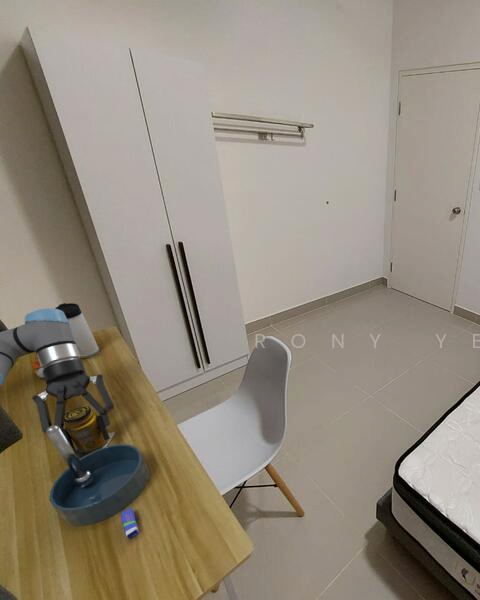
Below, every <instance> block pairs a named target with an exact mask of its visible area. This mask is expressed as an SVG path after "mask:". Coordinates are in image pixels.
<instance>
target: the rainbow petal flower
mask: <svg viewBox="0 0 480 600" xmlns="http://www.w3.org/2000/svg"><path fill="white" fill-rule="evenodd" d="M30 365H31V367H33V368H34V369H33V372H34V374H36V376H37V377H39V378H42V379H45V378H44V375H43V372H42V371H43V368H41V366H40V363H39V360H38V359H37V360H34V361H33V362H31V364H30Z"/></svg>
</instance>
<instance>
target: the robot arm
mask: <svg viewBox="0 0 480 600" xmlns="http://www.w3.org/2000/svg"><path fill="white" fill-rule="evenodd" d="M33 353H36V357H37V360H39V363H40V366H41V368H43V371H42V372H43V375H44V378H43V379H44V381H45V384H46V387H45V390H44V391H43V392H41V393H39V394H34V395H33V396H32V397H31V400H32V402H34V403H35V404H36V407H37V412H38V415H39V416H38V417H39V421H40V426H41V429H42V432H43V433H44V434H46V430H47V428H48V427H50V426H53V423H52V419H51V414H50V410H49V406H48V403H47V401H48V399H49V398H48V397H49V395H50V396H52V397H54V398H56V401H55V402H56V407H55V414H54V415H55V416H54V425H56V426H59V428H60V429H61V431H62V433H63V434H64V436H65V437H66V439H67V441H68V442H69V444H70V445H71V447H72V449H73V450H74V452H75V453H76V451H75V449H76V447H75V444H74V442H73V440H72V439H71V437H70V435H69V434H68V432H67V430H66V429H65V427H64V426H65V422H64V421H63V416H64V415H65V414H66V411H67V403H68V400H70V399H72V398H75V397H79V396H82V397H83V399H84V400H85V401H87V402H88V404H89V405H91V407H92V408H93V409H94V410H95V411H96V412H97V413H98V414H99V415H96V416H97V417H96V418H97V420H98V423H99V426H100V429H101V432H102V435H103V438H104V440H108V439H110V437H109V434H108V433H109V432H108V428H107V427H109V426H110V425H111V420H110V418H109V415H108V413H109V412H111V410H113V409H114V408H115V404H114V402H113V400H112V398H111V396H110V393H108V390H107V387H106V385H105V377H104V376H103V374H97V375H94V376H93V375H92V376H90V375H89V374H88V373H87V371H86V369H85V365H84V363H83V361H82V360H81V357H80V354H79V351H78V349H77V346H76V343H75V341H74V338H73V335H72V332H71V328H70V323H69V322H68V320H67V318H66V316H65V314H64V312H63V311H61V310H58V309H55V308H52V307H51V308H41V309H36V310H32V311H31V312H30V313H27V314H26V315H24V324H21V325H19V326H15V327H12V328H10V329H7V330H6V329H5V330H2V331H0V388H1V387H2V385H3V384H4V383H5V380H6V379H7V376H8V375H9V373H10V371H12V369H13V367H14V366H15V364H16V363H17V361H18V359H20V358H21V357H22V358H23V357H24V356H28V355H30V354H33ZM90 382H92V383H93V384H94V385H96V388H97V389H98V391H99V393H100V396H101V398H102V400H103V403H104V404H105V407H103V406H102V405H101V404H100V402H98V401H97V400H96V399H95V397H93V395H92V394H91V393H90V392H89V391H88V390H87V388H88V387H89V386H90V385H89V384H90Z"/></svg>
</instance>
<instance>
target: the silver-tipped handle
mask: <svg viewBox="0 0 480 600" xmlns="http://www.w3.org/2000/svg"><path fill="white" fill-rule="evenodd" d="M45 434H46V435H47V437H48V439H49V440H50V441H51V443H52V444H53V446H54V447H55V449H56V451H58V454H59V455H60V456H61V458H62V459H63V461H64V463H65V462H66V463H65V464H66V466H67V468H70V470H71V471H72V473H73V475H74V476H75V477H74V479H73V484H74V485H75V486H76V487H85V486H87V485H89V484H90V483H91V482H92V481H93V479H94V473H93V472H92V471H90V470H86V469H85V468H84V466H83V465H82V463H81V461H80V460H79V458H78V457H77V455H76V453H75V452H74V450H73V449H72V447H71V445H70V444H69V442H68V441H67V439H66V437H65V436H64V434H63V433H62V431H61V429H60V428H59V426H56V425H53V424H52V426H50V427H48V428H47V430H46V433H45Z"/></svg>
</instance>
